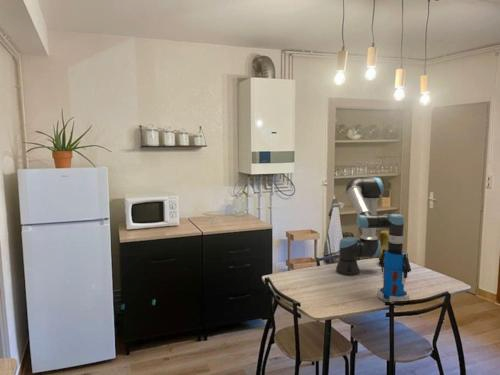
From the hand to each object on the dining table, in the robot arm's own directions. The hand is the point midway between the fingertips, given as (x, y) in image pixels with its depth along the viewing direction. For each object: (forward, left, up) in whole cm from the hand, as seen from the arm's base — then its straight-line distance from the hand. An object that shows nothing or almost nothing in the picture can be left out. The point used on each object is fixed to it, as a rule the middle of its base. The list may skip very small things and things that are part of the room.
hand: (393, 280), depth 217 cm
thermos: (0, 0, -9) cm, 9 cm away
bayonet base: (0, 0, -10) cm, 10 cm away
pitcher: (-33, +55, -11) cm, 65 cm away
